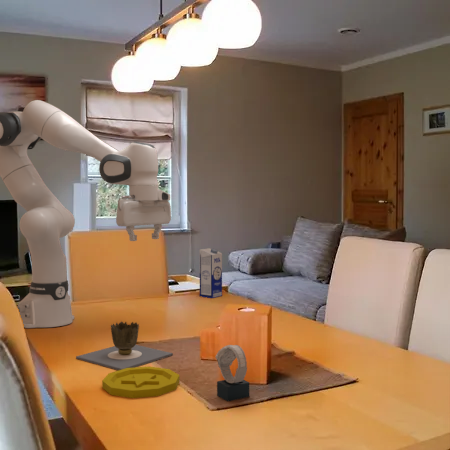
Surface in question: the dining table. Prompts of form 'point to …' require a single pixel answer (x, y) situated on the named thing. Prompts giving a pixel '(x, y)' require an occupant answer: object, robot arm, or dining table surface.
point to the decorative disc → (140, 382)
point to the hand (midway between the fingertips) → (144, 239)
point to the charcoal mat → (124, 357)
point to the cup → (124, 336)
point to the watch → (231, 385)
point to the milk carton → (210, 273)
